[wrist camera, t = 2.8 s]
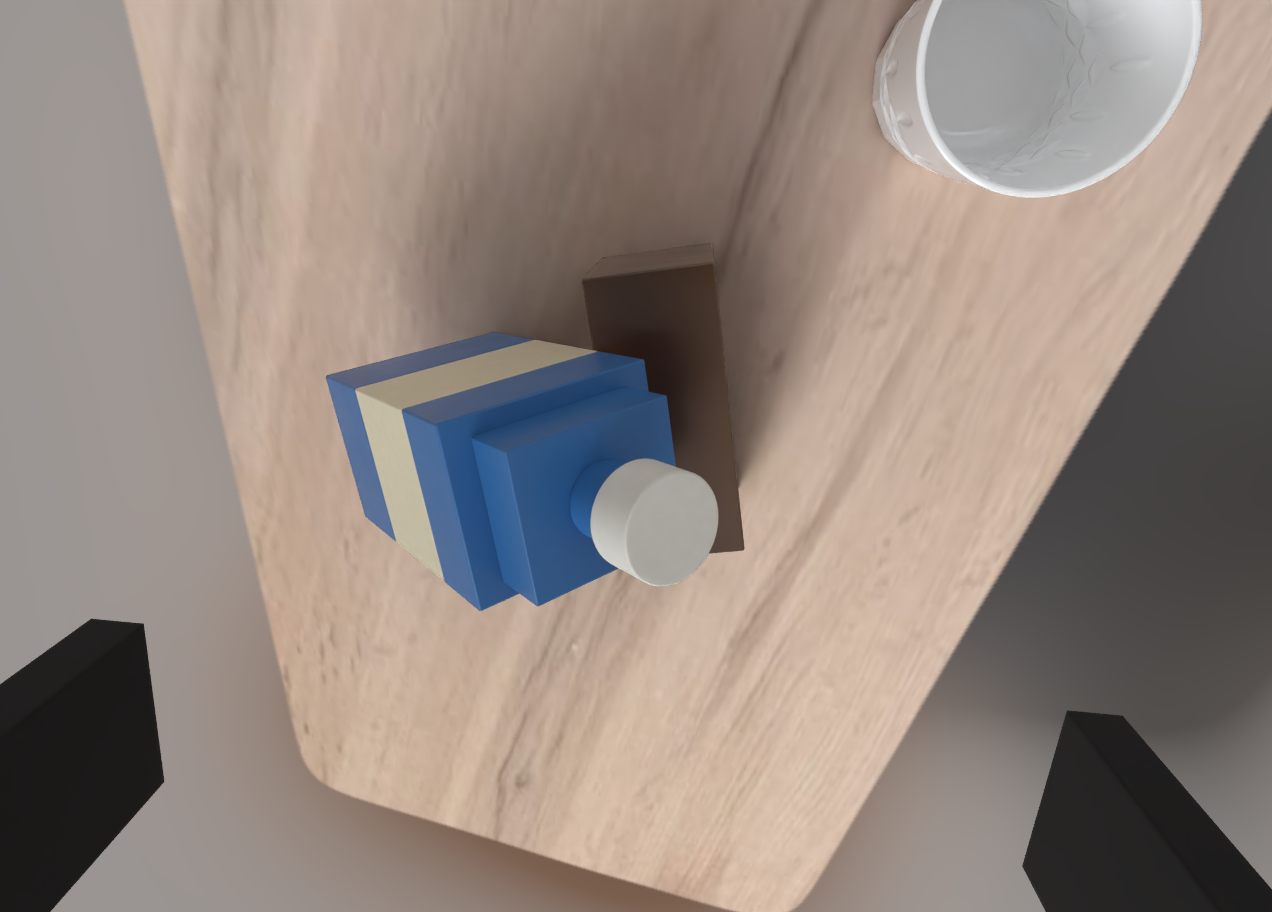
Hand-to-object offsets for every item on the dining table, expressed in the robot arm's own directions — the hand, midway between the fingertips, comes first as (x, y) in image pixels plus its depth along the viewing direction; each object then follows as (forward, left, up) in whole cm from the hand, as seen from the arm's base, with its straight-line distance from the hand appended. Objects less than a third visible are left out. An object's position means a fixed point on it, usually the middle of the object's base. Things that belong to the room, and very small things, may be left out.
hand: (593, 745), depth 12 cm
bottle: (+6, +2, -27) cm, 28 cm away
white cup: (-13, -9, -28) cm, 32 cm away
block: (0, +2, -27) cm, 28 cm away
